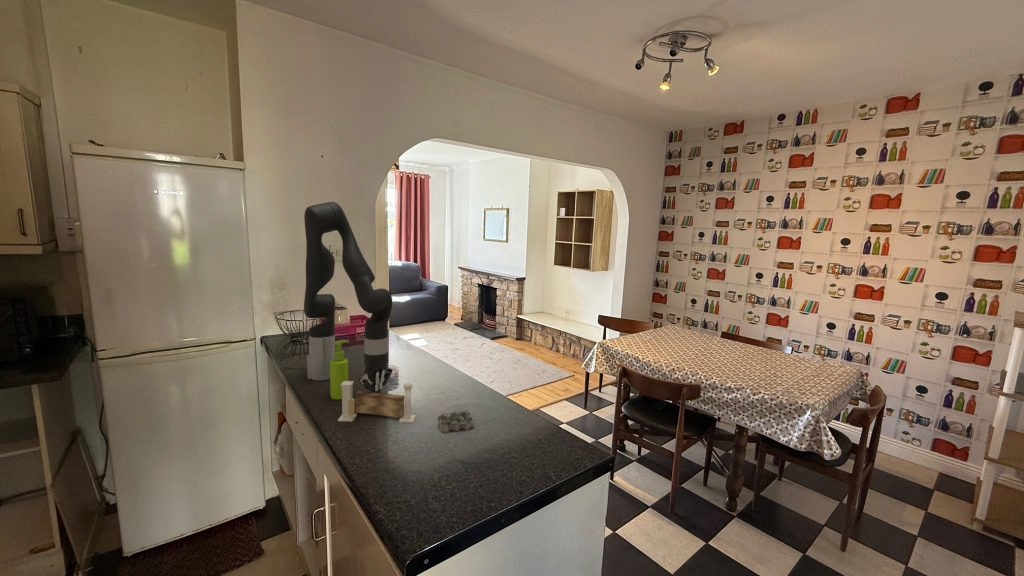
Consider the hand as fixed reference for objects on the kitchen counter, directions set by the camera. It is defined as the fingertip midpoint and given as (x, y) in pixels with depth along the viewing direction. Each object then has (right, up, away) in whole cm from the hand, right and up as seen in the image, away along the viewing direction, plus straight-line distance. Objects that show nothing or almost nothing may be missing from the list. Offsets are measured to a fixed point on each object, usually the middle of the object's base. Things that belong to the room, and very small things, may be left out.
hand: (376, 400), depth 134 cm
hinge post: (+12, -5, -5) cm, 13 cm away
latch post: (-7, -4, -6) cm, 10 cm away
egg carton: (+27, -7, -7) cm, 29 cm away
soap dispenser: (-16, -1, +11) cm, 19 cm away
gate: (+2, -3, -4) cm, 6 cm away
